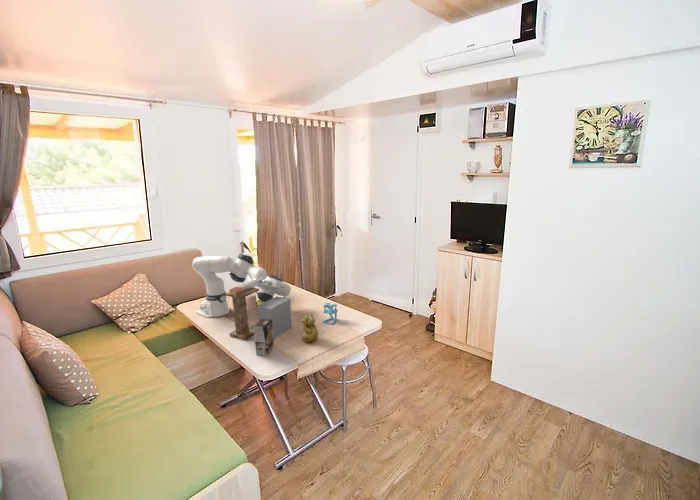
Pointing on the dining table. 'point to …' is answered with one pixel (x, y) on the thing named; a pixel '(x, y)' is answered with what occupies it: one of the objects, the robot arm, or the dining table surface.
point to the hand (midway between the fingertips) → (258, 280)
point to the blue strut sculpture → (330, 312)
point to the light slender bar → (246, 286)
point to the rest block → (276, 314)
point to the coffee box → (264, 337)
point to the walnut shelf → (242, 315)
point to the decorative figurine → (309, 329)
